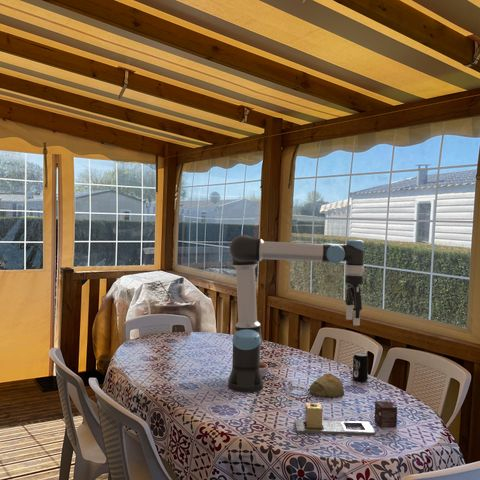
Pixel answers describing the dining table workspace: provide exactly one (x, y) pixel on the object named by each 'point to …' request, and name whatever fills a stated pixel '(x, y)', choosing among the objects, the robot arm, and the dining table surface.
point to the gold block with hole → (313, 416)
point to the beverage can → (360, 367)
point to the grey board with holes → (336, 428)
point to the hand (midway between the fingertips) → (352, 322)
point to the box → (385, 414)
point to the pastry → (327, 386)
